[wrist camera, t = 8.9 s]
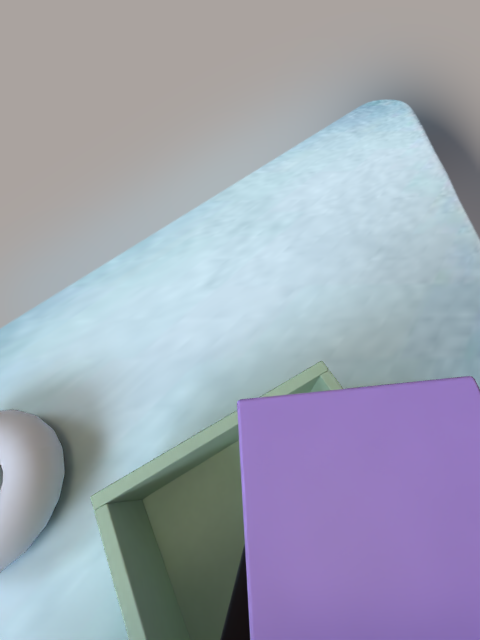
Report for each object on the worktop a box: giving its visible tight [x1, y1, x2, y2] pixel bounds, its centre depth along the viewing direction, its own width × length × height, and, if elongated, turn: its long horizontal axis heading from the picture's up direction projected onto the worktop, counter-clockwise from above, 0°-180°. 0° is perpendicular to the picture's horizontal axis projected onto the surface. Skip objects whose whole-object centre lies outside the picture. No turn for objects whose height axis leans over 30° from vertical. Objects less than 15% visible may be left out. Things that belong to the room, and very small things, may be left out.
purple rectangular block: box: [237, 376, 480, 640], centre depth 8 cm, size 6×3×13 cm, turn 4°
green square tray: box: [91, 361, 343, 640], centre depth 16 cm, size 14×14×6 cm
